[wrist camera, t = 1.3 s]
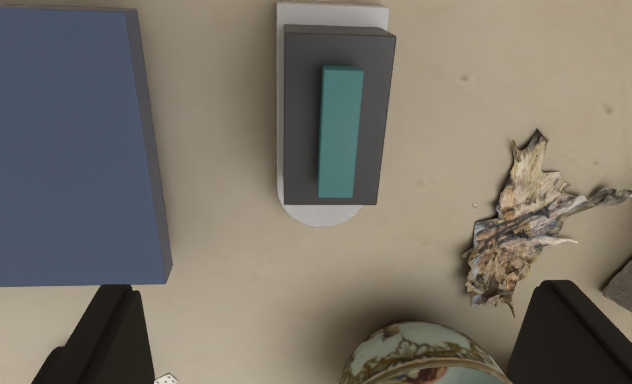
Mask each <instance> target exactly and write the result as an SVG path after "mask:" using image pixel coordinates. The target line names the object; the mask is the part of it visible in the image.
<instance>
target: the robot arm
mask: <svg viewBox="0 0 632 384" xmlns="http://www.w3.org/2000/svg"><path fill="white" fill-rule="evenodd" d="M508 373H509V377H510V379H511V381H512V383H513V384H632V343H631V342H630V341H629V340H628V339H627V338H626V337H625V335H624V334H623V333H622V332H621V331H620V330H619V329H618V328H617V327H616V326H615V325H614V324H613V323H612V322H611V321H610V320H609V319H608V318H607V317H606V316H605V315H604V314H603V313H602V312H601V311H600V309H599V308H598V307H597V306H596V305H595V304H594V303H593V302H592V301H591V300H590V299H589V298H588V297H587V296H586V295H585V294H584V293H583V292H582V291H581V290H580V289H579V288H578V287H577V286H576V285H575V284H574V283H573V282H572V281H569V280H545V281H543V282H542V283H541V284H540V286H538V287H536V288H535V289H534V291H533V294H532V297H531V300H530V303H529V306H528V309H527V312H526V314H525V317H524V320H523V323H522V326H521V329H520V332H519V335H518V338H517V340H516V343H515V346H514V349H513V352H512V355H511V358H510V361H509V364H508ZM154 380H155V375H154V368H153V362H152V357H151V351H150V345H149V340H148V334H147V328H146V322H145V317H144V311H143V305H142V300H141V295H140V292H139V291H133V290H132V287H131V285H129V284H103V285H101V286H100V288H99V289H98V291H97V292H96V294H95V296H94V297H93V299H92V301H91V302H90V304H89V306H88V308H87V309H86V311H85V313H84V314H83V316H82V318H81V319H80V321H79V323H78V325H77V326H76V328H75V330H74V331H73V333H72V335H71V336H70V338H69V340H68V341H67V343H66V345H65V346H64V347H57V348H55V349H54V350H53V351H52V352H51V353H50V355H49V356H48V357H47V359H46V360H45V362H44V364H43V365H42V367H41V368H40V370H39V372H38V373H37V375H36V377H35V378H34V380H33V381H32V383H31V384H154Z"/></svg>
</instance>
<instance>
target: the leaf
mask: <svg viewBox="0 0 632 384" xmlns="http://www.w3.org/2000/svg"><path fill="white" fill-rule="evenodd" d="M548 141H549V138H546V137H544V136H543V135H542V134H541V133H540V131H539V130H538V129H536V132H535V134H534V137H533V139H532V140H531V142H530V144H529V145H528V146H527V147H526V149H524V150H522V151H520V150H518V149H517V147H516V144H515V141H514V140H512V151H513V154H514V157H515V158H514V166H513V168H512V170H511V171H510V176H511V177H510V178H509V180H508V181H507V183H506V186H505V188H504V190H503V191H502V192H501V193H500V200H499V202H498V204H497V205H496V207H495V208H496V210H497V212H498V218H496V219H492V220H483V221H478V222H476V224H475V230H474V240H473V243H474V247H473V248H471V249H469V250H468V251H466V252H465V253H464V254H462V255H461V257H463V258H466V257H468V265H470V267H471V268H470V271H469V274H468V276H467V282H466V284H465V286H466V287H467V292H470V291H471V298H470V306H471V307H475V306H478V305H480V304H484V306H485V303H486V302H489V303H491V304H494V305H495V307H497V305H498V304H499V303H500V302H504V303H506V304H507V305H509V306H510V308H511V311H512V313H513V316H514V318H515V315H514V310H513V306H512V302H511V298H512V295H513V291H514V288H515V286H516V283H517V282H518V281H519V280H521V279H523V278H525V277H527V276H529V275H530V270H529V269H530V264H532V263H533V262H535V261H536V260H537V258H538V256H539V254H540V253H541V251H542V247H544V246H546V245H549V244H550V245H556V244H559V243H562V242H566V241H568V240H569V241H570V242H574V243H579V242H577V241H574V240H572V239H562V238H556V237H557V234H558V232H559V231H560V230H561V228H562V225H563V222H564V220H565V219H566V218H567V217H568V216H570V215H572V214H575V213H578V212H580V211H583V210H586V209H589V208H592V207H595V206H594V205H596V206H613V205H617V204H619V203H621V202H624V201H626V200H627V199H629V198H630V197H632V191H630V190H623V191H620V192H618V193H617V194H616V191H617V190H615V189H612V188H605V189H602V190H600V191H599V192H598V193H597V194H596V195H595V196H594V198H593V199H592V200H590V201H589V200H587V199H586V198H585V196H583V195H580V196H573V195H570V194H567V193H564V189H565V188H566V187H568V186H570V184H571V183H569V184H567V183H564V181H563V180H562V174H561V173H560V172H550V173H543V172H542V171H541V163H542V160H543V157H544V153H545V149H546V145H547V143H548ZM474 206H475V207H476V208H477V205H475V204H474ZM553 237H554V238H553ZM500 295H501V296H500ZM499 296H500V297H499Z"/></svg>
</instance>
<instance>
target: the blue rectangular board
mask: <svg viewBox="0 0 632 384" xmlns="http://www.w3.org/2000/svg"><path fill="white" fill-rule="evenodd" d="M172 266H173V263H172V256H171V249H170V242H169V234H168V227H167V220H166V213H165V206H164V199H163V192H162V184H161V177H160V170H159V163H158V156H157V149H156V142H155V134H154V127H153V120H152V113H151V106H150V99H149V92H148V84H147V77H146V70H145V63H144V56H143V49H142V41H141V34H140V27H139V20H138V13H137V9H129V8H102V7H75V6H48V5H20V4H0V287H23V286H84V285H103V284H129V285H145V284H166V282H167V280H168V277H169V274H170V271H171V269H172Z"/></svg>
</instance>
